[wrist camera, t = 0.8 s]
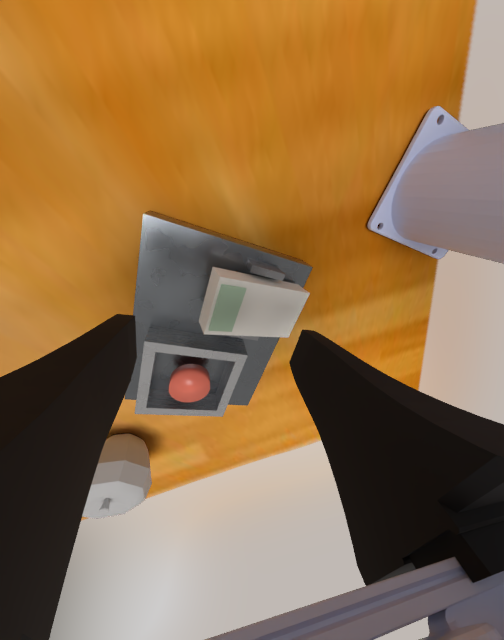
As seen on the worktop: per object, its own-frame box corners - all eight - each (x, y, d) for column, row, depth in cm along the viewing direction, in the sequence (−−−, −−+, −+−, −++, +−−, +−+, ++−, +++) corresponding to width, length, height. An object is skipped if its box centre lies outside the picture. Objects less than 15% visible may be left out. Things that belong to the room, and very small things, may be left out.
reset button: (213, 366, 18) (214, 376, 17) (204, 392, 20) (205, 403, 19) (173, 361, 17) (172, 372, 16) (167, 389, 19) (165, 401, 18)
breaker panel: (302, 260, 18) (325, 276, 15) (244, 391, 25) (251, 421, 22) (149, 210, 14) (134, 217, 11) (130, 382, 21) (117, 418, 18)
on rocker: (297, 284, 17) (311, 294, 16) (278, 326, 19) (289, 338, 17) (212, 266, 13) (220, 277, 12) (198, 321, 15) (204, 335, 14)
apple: (95, 415, 23) (62, 488, 17) (170, 427, 26) (162, 491, 20) (76, 458, 25) (43, 532, 20) (146, 463, 29) (133, 528, 23)
